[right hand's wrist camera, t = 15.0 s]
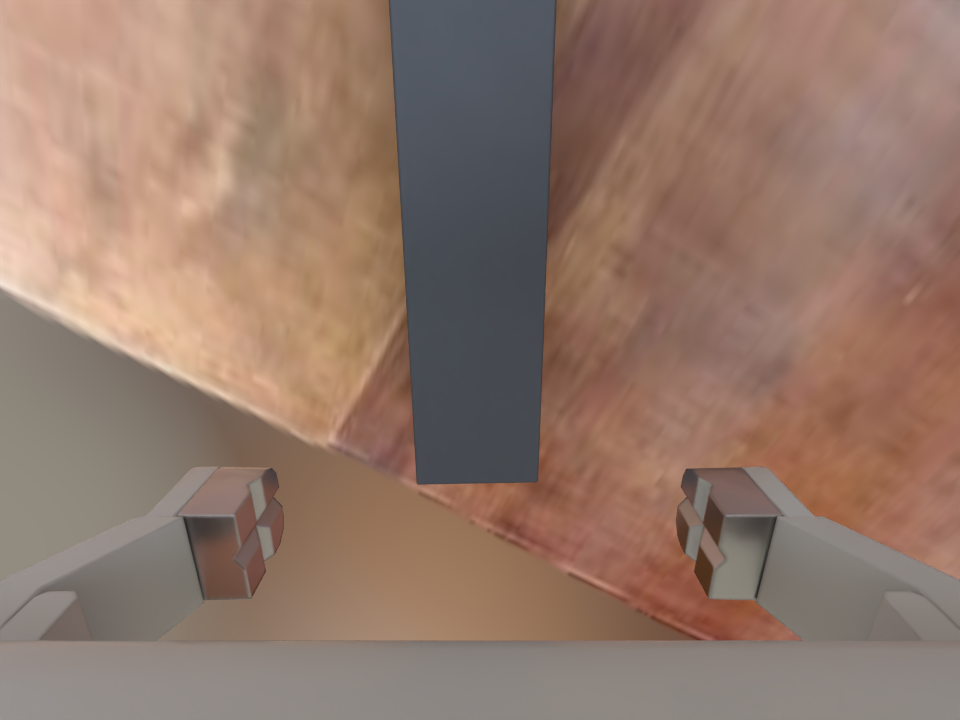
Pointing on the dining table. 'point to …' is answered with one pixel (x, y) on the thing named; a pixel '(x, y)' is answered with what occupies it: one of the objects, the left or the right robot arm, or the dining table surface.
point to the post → (474, 228)
